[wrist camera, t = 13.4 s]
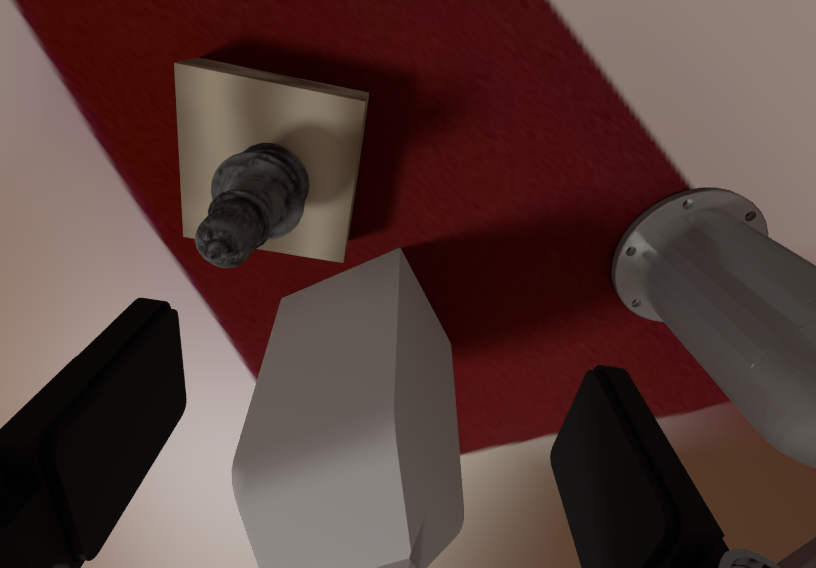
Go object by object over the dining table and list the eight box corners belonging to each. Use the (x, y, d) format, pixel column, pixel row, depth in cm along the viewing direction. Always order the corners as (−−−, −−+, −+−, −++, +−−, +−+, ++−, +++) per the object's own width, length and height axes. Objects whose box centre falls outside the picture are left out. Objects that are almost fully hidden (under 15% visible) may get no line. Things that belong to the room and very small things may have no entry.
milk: (400, 247, 40) (400, 549, 17) (450, 343, 45) (501, 670, 23) (281, 298, 42) (147, 621, 20) (343, 384, 48) (292, 714, 25)
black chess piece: (286, 124, 31) (228, 180, 20) (328, 202, 33) (295, 286, 23) (211, 158, 32) (120, 228, 21) (258, 231, 34) (196, 324, 24)
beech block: (369, 92, 33) (365, 101, 30) (348, 241, 39) (343, 262, 36) (198, 57, 32) (174, 62, 29) (203, 216, 38) (183, 236, 35)
